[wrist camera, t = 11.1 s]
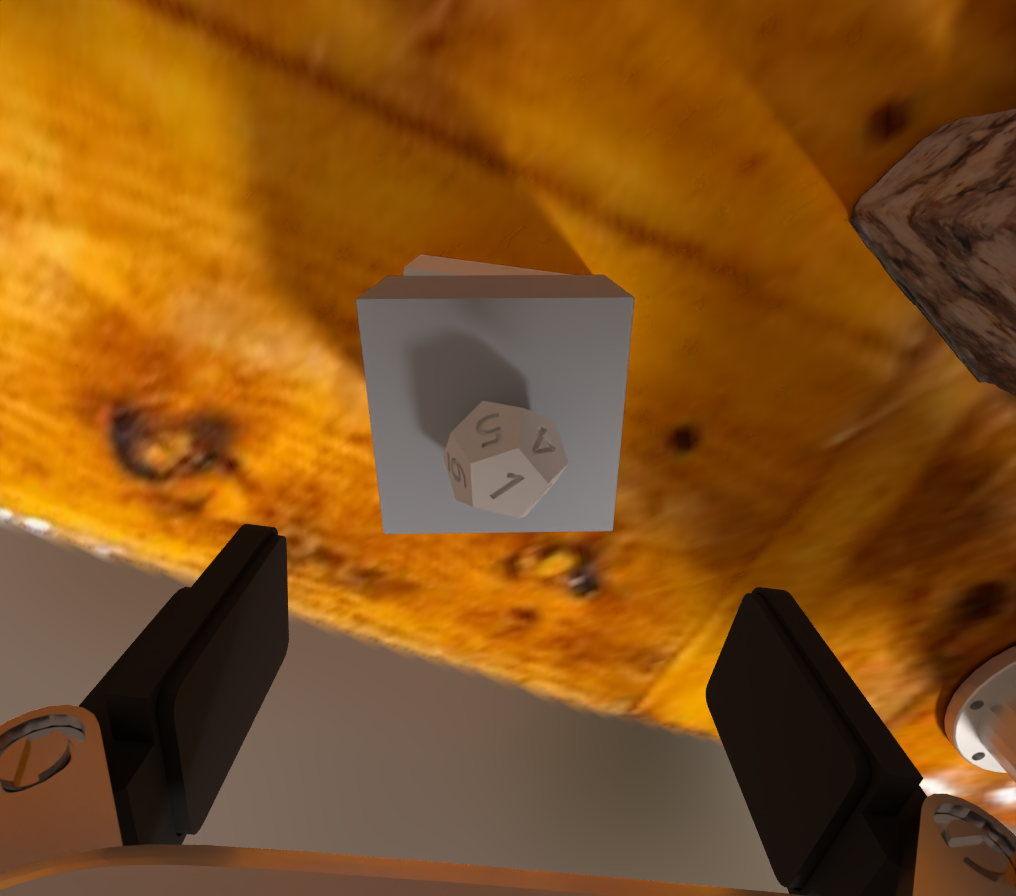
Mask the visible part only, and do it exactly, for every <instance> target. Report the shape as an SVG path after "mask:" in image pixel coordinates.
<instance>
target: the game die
mask: <svg viewBox="0 0 1016 896" xmlns="http://www.w3.org/2000/svg"><path fill="white" fill-rule="evenodd" d="M443 459H444V462H445V465H446V469H447V472H448V475H449V479H450V482H451V486H452V489H453V492H454V496H455V499H456V500H457V501H460V502H462V503H464V504H467V505H469V506H471V507H474V508H478V509H482V510H487V511H491V512H495V513H499V514H503V515H508V516H512V517H516V518H522V517H525V516H526V515H527V514H528V513H529V512H530V511H531V509H532V508H533V507H534V506H535V505H536V504H537V503H538V502H539V500H540V499H541V498H542V497H543V496H544V495H545V494H546V493H547V491H548V490H549V489H550V488H551V487H552V486H553V485H554V483H555V482H556V480H557V479H558V478H559V476H560V475H561V473H562V472H563V471H564V469H565V468H566V466H567V465H568V464H569V463H568V460H567V457H566V454H565V451H564V448H563V445H562V442H561V439H560V436H559V433H558V429H557V426H556V423H555V420H553V419H551V418H548V417H546V416H543V415H540V414H538V413H535V412H533V411H530V410H527V409H525V408H521V407H515V406H510V405H504V404H499V403H493V402H488V401H482V402H481V403H480V404H479V405H478V406H477V407H476V408H475V409H474V410H473V411H472V412H471V413H470V414H469V415H468V416H467V417H466V418H465V419H464V420H463V421H462V422H461V423H460V424H459V425H458V426H457V427H456V428H455V429H454V430H453V431H452V432H451V433H450V437H449V440H448V443H447V446H446V449H445V452H444V456H443Z"/></svg>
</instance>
